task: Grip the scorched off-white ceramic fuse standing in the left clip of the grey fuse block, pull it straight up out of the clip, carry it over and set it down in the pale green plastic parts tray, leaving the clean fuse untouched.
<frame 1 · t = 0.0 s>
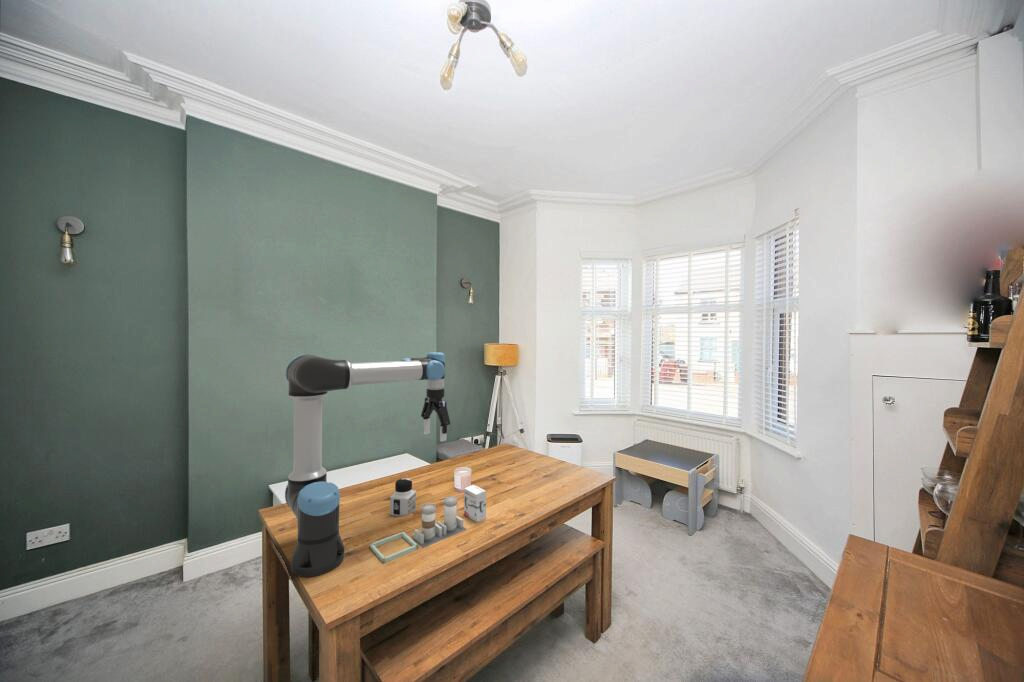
hand: (434, 437, 159), 28 cm above the table, fingers open, 13 cm apart
fuse block: (439, 535, 134), on the table
ink box: (474, 519, 146), on the table
container: (403, 512, 150), on the table
blown fuse: (428, 537, 131), point 1 cm above the table, touching fuse block
parts tray: (393, 551, 124), on the table
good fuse: (449, 528, 137), point 1 cm above the table, touching fuse block
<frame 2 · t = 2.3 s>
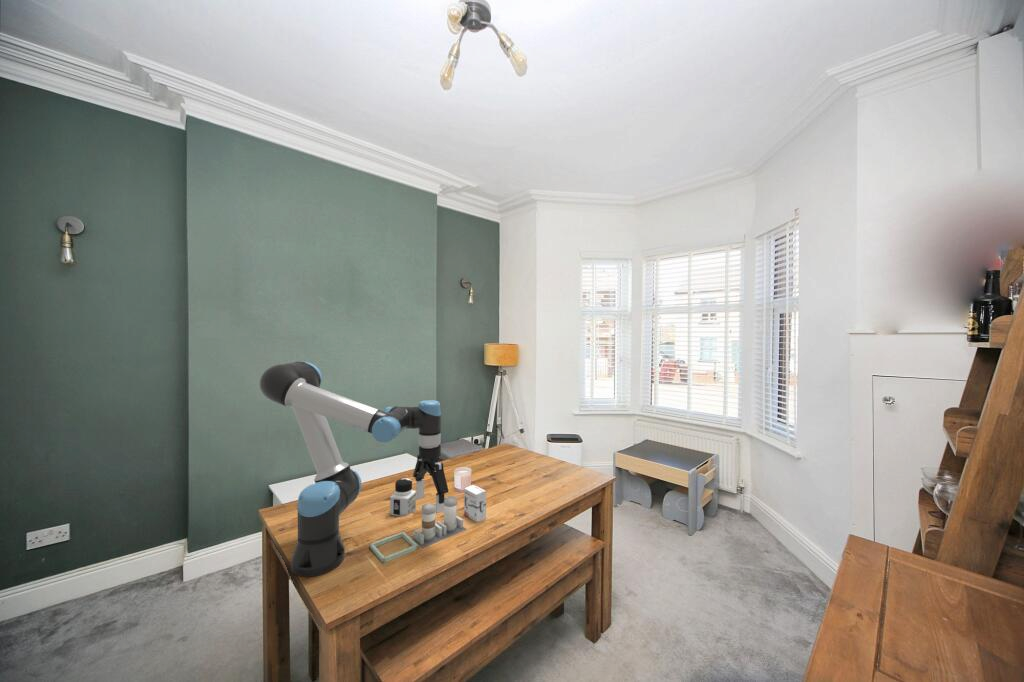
hand: (429, 505, 130), 13 cm above the table, fingers open, 13 cm apart
nothing on the table moved.
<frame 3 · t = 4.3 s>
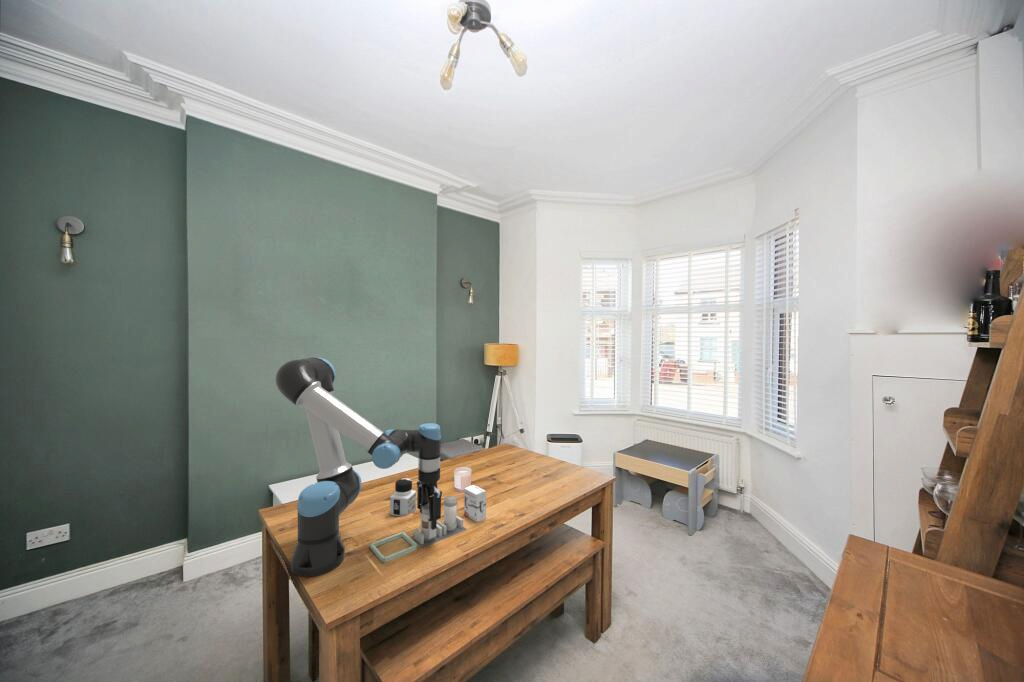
hand: (428, 533, 131), 2 cm above the table, fingers closed on blown fuse, 5 cm apart
blown fuse: (428, 537, 131), point 1 cm above the table, touching fuse block, gripper
everything else where it was.
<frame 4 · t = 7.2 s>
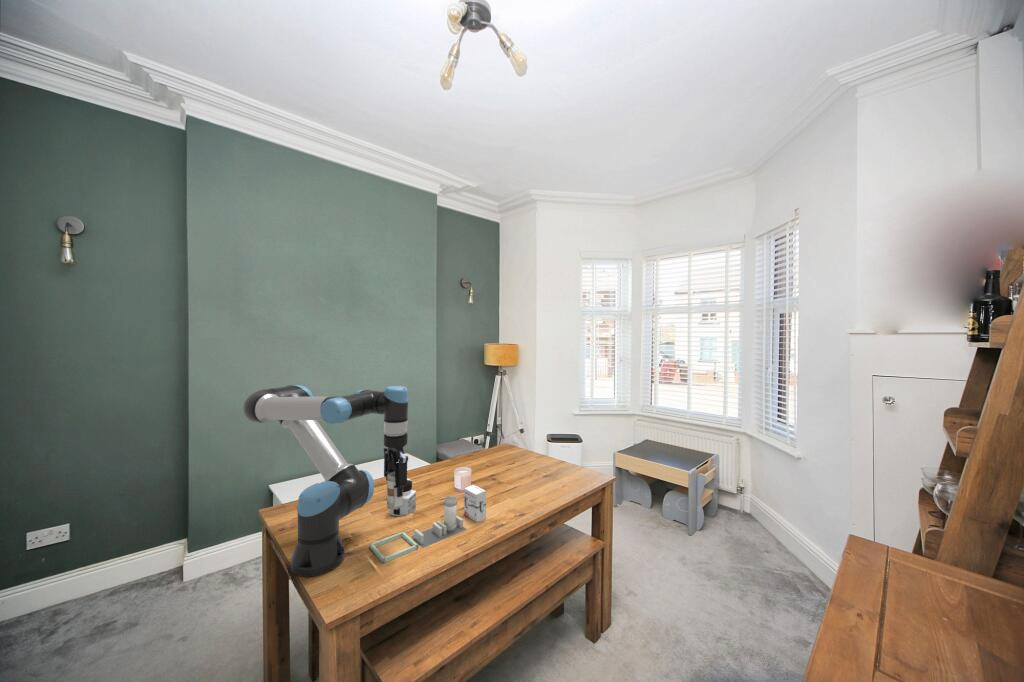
hand: (394, 502, 123), 16 cm above the table, fingers closed on blown fuse, 5 cm apart
blown fuse: (394, 506, 123), point 15 cm above the table, touching gripper
everything else where it was.
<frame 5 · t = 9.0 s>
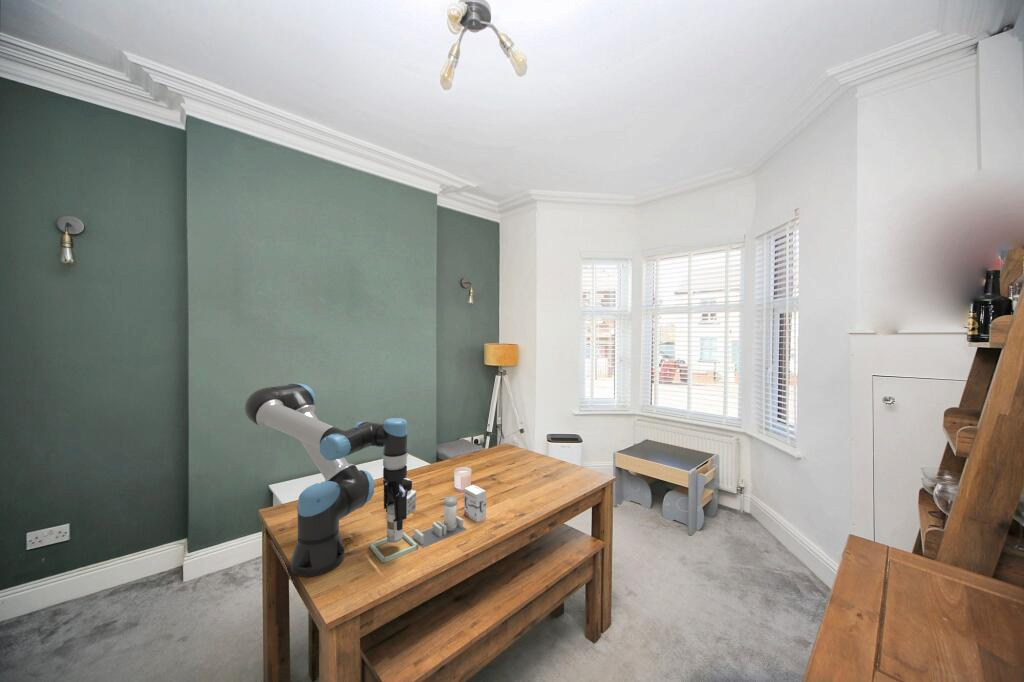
hand: (394, 535, 123), 5 cm above the table, fingers closed on blown fuse, 5 cm apart
blown fuse: (394, 538, 123), point 4 cm above the table, touching gripper
everything else where it was.
when the fingers open (3 cm above the table, at t = 10.2 s): blown fuse drops 1 cm, resting on parts tray.
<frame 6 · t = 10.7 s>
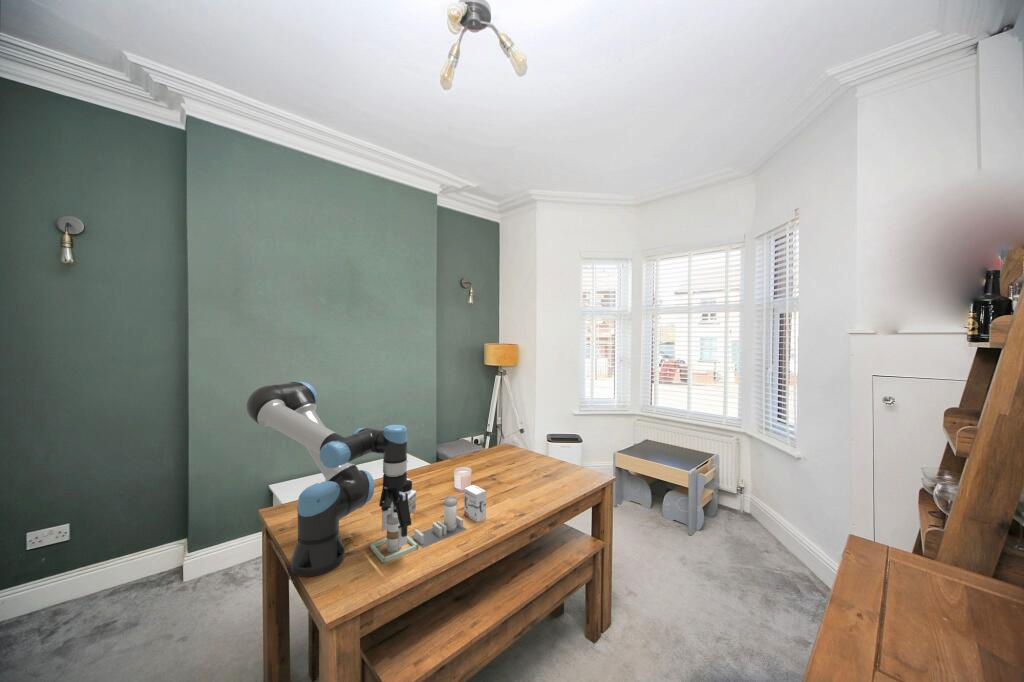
hand: (394, 536, 123), 5 cm above the table, fingers open, 12 cm apart
blown fuse: (393, 548, 124), point 1 cm above the table, touching parts tray
everything else where it was.
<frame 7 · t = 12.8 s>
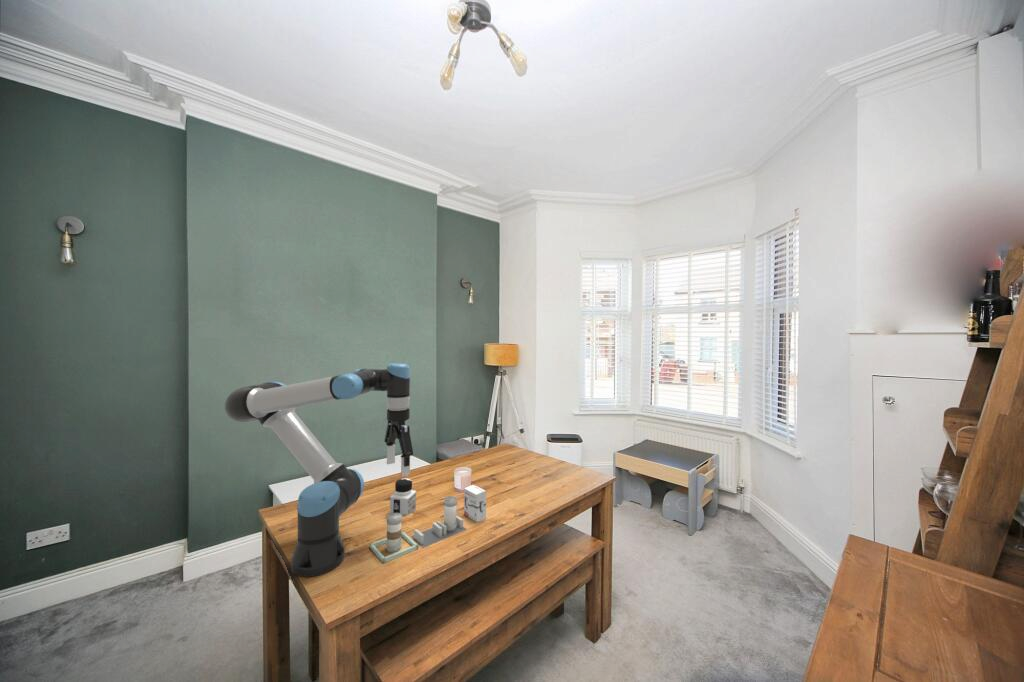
hand: (397, 469, 129), 26 cm above the table, fingers open, 13 cm apart
nothing on the table moved.
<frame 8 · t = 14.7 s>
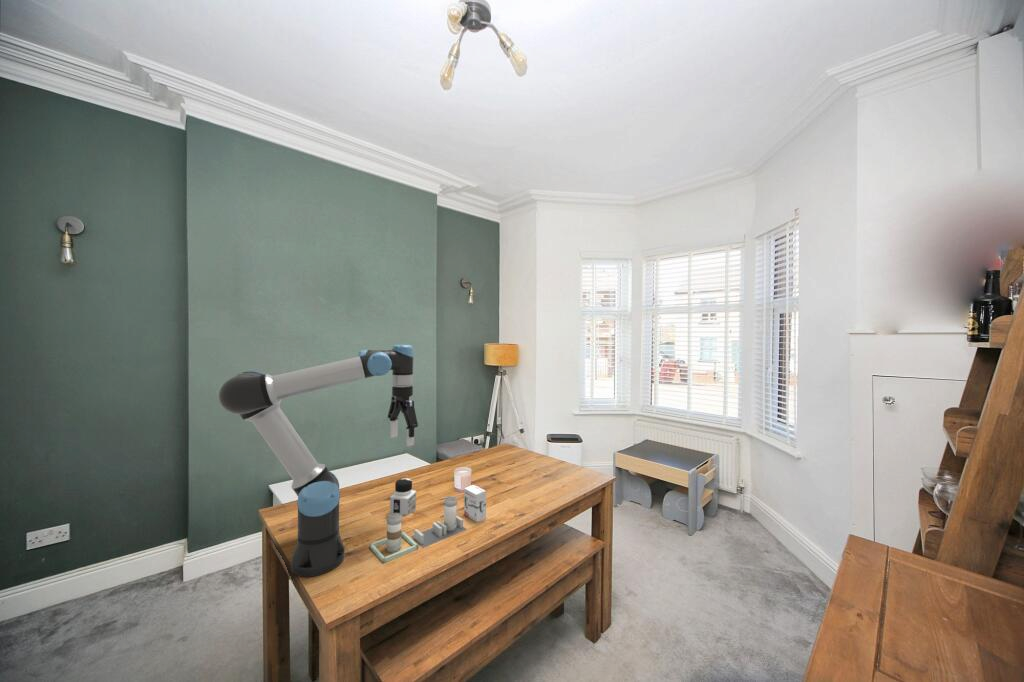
hand: (401, 441, 140), 32 cm above the table, fingers open, 13 cm apart
nothing on the table moved.
at the end: blown fuse inside the target area on the parts tray (0.0 cm from its centre), point 0.8 cm above the parts tray's base; the gripper is holding nothing; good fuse moved 0.0 cm from its start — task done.
